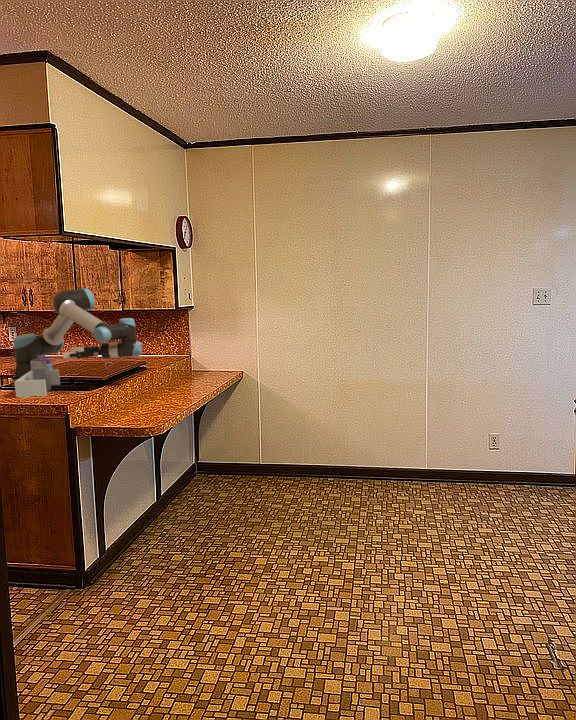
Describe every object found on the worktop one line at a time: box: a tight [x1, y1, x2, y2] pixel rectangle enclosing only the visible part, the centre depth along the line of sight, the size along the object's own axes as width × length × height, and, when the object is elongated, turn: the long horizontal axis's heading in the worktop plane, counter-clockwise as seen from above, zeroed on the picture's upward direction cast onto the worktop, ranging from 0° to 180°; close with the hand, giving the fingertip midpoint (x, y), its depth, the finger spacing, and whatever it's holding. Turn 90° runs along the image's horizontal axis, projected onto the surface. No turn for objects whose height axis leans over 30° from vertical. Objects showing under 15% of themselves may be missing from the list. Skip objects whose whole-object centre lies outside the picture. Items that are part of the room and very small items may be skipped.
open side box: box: [14, 368, 61, 398], centre depth 316 cm, size 24×14×8 cm, turn 4°
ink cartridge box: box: [30, 355, 54, 371], centre depth 334 cm, size 10×6×14 cm, turn 78°
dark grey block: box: [33, 366, 52, 393], centre depth 316 cm, size 6×6×12 cm
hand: (67, 352), depth 313 cm, fingers open, 13 cm apart
